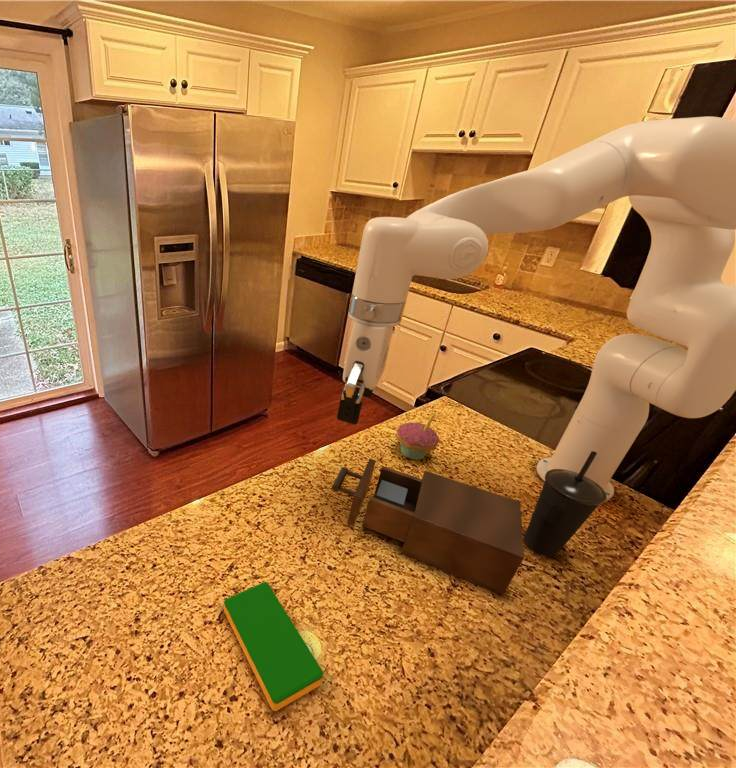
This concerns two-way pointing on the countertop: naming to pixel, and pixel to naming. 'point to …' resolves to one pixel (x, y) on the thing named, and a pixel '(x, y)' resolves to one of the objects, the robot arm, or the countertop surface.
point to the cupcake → (417, 439)
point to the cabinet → (466, 532)
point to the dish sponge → (272, 646)
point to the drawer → (379, 512)
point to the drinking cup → (562, 508)
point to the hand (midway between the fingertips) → (354, 407)
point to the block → (391, 493)
